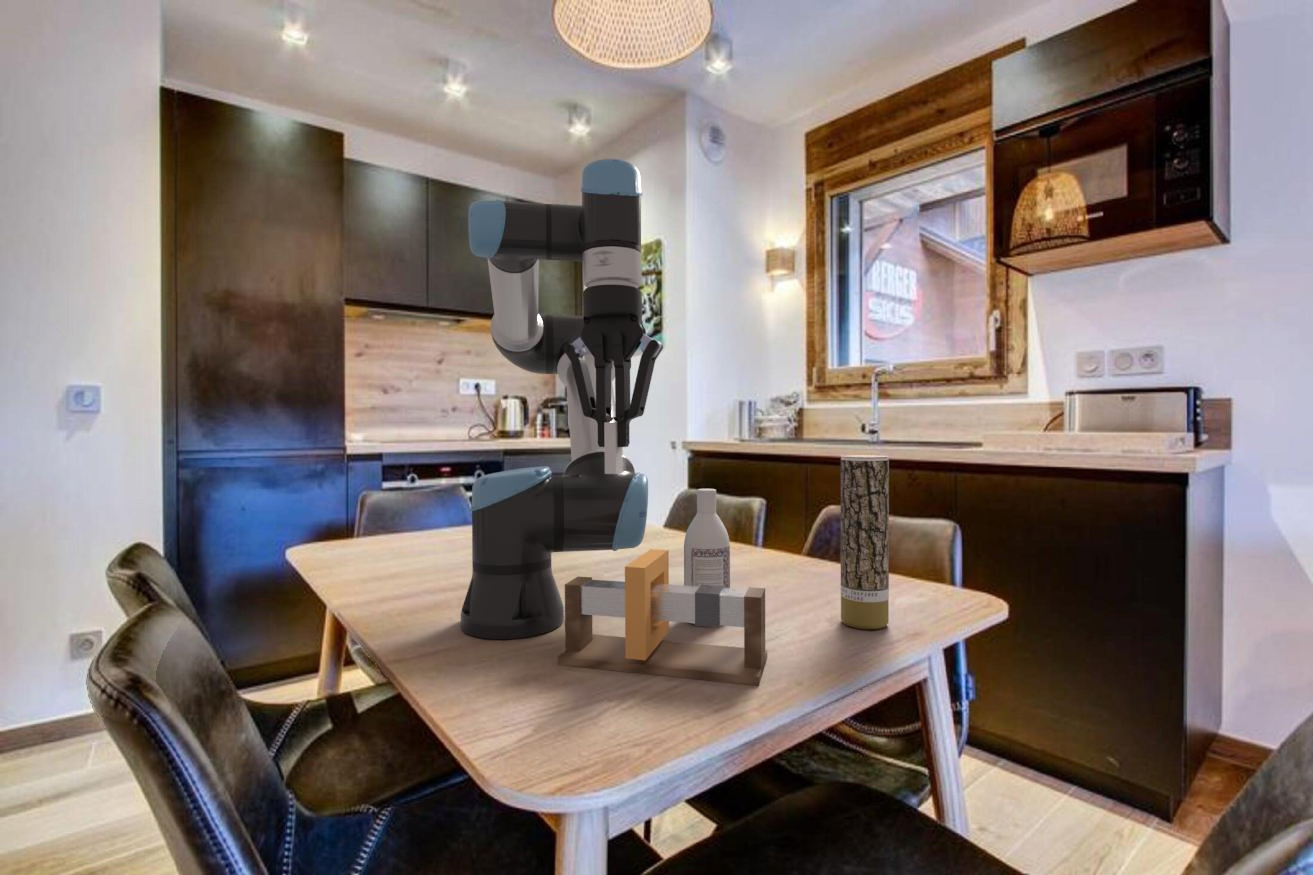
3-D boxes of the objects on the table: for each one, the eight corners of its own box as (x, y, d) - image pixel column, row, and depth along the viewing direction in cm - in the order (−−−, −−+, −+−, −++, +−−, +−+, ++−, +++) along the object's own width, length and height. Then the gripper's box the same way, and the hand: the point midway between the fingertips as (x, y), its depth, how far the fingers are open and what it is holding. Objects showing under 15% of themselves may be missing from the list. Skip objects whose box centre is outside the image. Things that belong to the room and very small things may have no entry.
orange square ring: (625, 658, 77) (624, 566, 76) (651, 629, 87) (650, 549, 87) (645, 660, 76) (644, 567, 76) (669, 631, 86) (668, 550, 86)
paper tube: (892, 632, 91) (892, 457, 91) (842, 629, 93) (842, 457, 92) (884, 618, 98) (885, 455, 98) (838, 615, 99) (838, 455, 99)
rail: (576, 615, 82) (576, 584, 82) (588, 607, 86) (587, 577, 86) (748, 629, 76) (748, 596, 76) (752, 619, 80) (752, 587, 80)
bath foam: (739, 623, 96) (738, 490, 96) (698, 629, 93) (698, 492, 93) (715, 611, 102) (714, 486, 102) (676, 617, 99) (675, 488, 99)
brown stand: (557, 664, 80) (557, 588, 80) (585, 640, 89) (584, 572, 89) (759, 685, 73) (758, 602, 73) (767, 657, 82) (767, 583, 82)
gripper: (552, 285, 80) (554, 474, 80) (653, 278, 76) (654, 476, 77) (576, 297, 87) (578, 470, 88) (669, 291, 84) (670, 471, 84)
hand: (613, 472), depth 82 cm, fingers closed
